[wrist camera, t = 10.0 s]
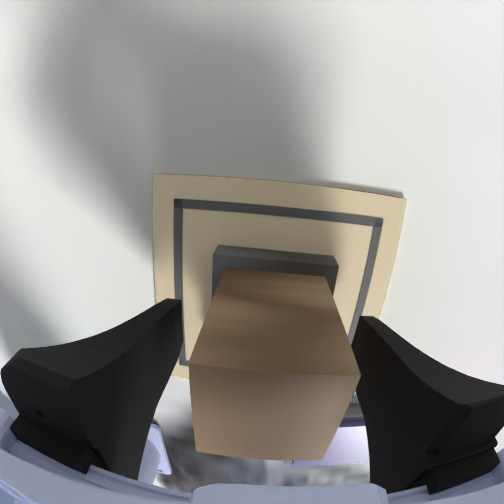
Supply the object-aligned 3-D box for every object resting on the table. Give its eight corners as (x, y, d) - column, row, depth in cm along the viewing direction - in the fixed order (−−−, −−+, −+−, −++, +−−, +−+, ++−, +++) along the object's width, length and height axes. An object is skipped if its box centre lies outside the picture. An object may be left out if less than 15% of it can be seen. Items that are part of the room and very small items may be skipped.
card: (165, 372, 16) (164, 374, 15) (154, 174, 12) (152, 174, 12) (352, 388, 15) (353, 391, 15) (404, 198, 12) (407, 199, 11)
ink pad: (283, 453, 18) (283, 468, 16) (298, 404, 16) (300, 422, 15) (382, 448, 18) (386, 462, 16) (413, 400, 16) (420, 415, 14)
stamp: (215, 339, 14) (182, 455, 8) (218, 244, 13) (165, 342, 6) (314, 348, 14) (332, 466, 8) (333, 255, 13) (386, 359, 6)
